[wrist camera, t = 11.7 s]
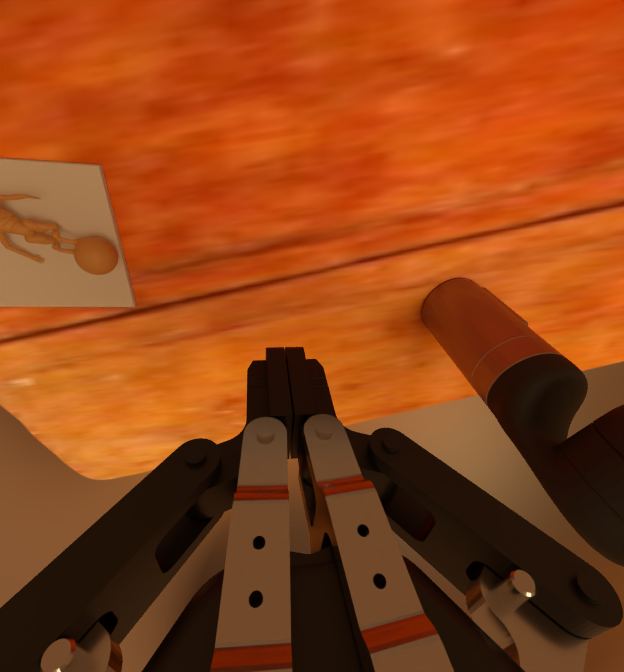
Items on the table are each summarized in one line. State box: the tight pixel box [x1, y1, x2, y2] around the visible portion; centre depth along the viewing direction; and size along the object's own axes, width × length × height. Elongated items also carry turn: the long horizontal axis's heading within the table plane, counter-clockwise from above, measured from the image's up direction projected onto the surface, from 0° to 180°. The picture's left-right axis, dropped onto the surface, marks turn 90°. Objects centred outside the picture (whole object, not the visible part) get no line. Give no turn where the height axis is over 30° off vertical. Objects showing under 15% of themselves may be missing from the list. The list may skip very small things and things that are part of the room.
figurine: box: [0, 194, 118, 275], centre depth 34 cm, size 8×6×12 cm
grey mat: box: [0, 157, 136, 307], centre depth 36 cm, size 15×16×1 cm
